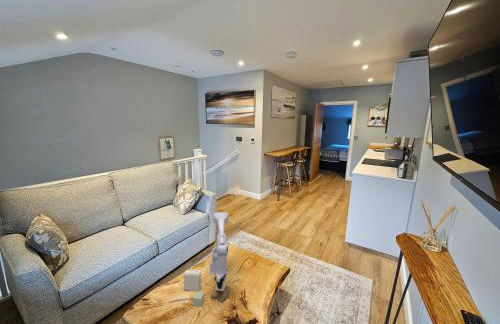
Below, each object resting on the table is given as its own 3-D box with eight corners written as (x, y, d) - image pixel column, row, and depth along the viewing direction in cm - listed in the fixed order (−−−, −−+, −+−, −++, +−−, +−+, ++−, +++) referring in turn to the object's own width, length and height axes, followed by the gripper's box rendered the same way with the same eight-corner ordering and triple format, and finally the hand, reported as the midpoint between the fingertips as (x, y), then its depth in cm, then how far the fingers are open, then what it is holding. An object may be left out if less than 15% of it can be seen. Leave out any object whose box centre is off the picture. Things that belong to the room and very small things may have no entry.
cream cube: (215, 289, 120) (215, 281, 120) (217, 284, 125) (218, 276, 125) (223, 291, 120) (223, 283, 119) (225, 285, 124) (226, 277, 124)
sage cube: (192, 305, 114) (192, 297, 114) (195, 299, 119) (196, 291, 119) (200, 307, 114) (200, 299, 113) (203, 300, 119) (204, 292, 118)
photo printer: (183, 290, 125) (183, 272, 124) (185, 285, 130) (185, 267, 128) (199, 291, 125) (200, 272, 124) (201, 286, 130) (201, 268, 128)
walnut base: (210, 300, 119) (210, 295, 119) (215, 289, 128) (215, 284, 128) (225, 301, 118) (225, 296, 117) (229, 290, 127) (229, 286, 126)
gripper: (225, 272, 113) (224, 295, 114) (231, 258, 128) (230, 278, 129) (213, 270, 114) (212, 293, 115) (220, 256, 128) (219, 276, 130)
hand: (221, 285), depth 122 cm, fingers closed on cream cube, 5 cm apart
